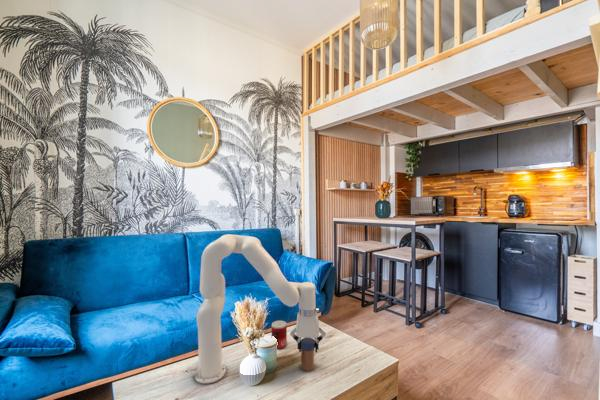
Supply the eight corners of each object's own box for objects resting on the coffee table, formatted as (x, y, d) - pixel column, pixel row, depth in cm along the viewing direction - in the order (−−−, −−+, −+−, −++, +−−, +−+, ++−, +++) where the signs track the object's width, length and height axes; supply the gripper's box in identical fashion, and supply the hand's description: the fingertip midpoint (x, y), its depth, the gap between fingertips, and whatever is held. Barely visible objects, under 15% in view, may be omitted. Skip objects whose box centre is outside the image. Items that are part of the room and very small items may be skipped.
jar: (303, 372, 120) (304, 347, 120) (299, 364, 125) (299, 340, 125) (315, 369, 122) (316, 345, 122) (310, 362, 127) (311, 338, 127)
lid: (318, 345, 124) (318, 340, 124) (310, 352, 119) (310, 346, 119) (305, 340, 128) (306, 335, 128) (297, 347, 123) (297, 341, 123)
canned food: (287, 341, 146) (287, 320, 146) (285, 349, 138) (285, 327, 138) (273, 340, 146) (273, 320, 146) (270, 349, 139) (270, 327, 138)
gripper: (326, 307, 126) (327, 346, 127) (289, 307, 128) (290, 345, 128) (326, 315, 119) (327, 356, 119) (287, 314, 120) (287, 355, 121)
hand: (308, 350), depth 124 cm, fingers closed on lid, 6 cm apart
